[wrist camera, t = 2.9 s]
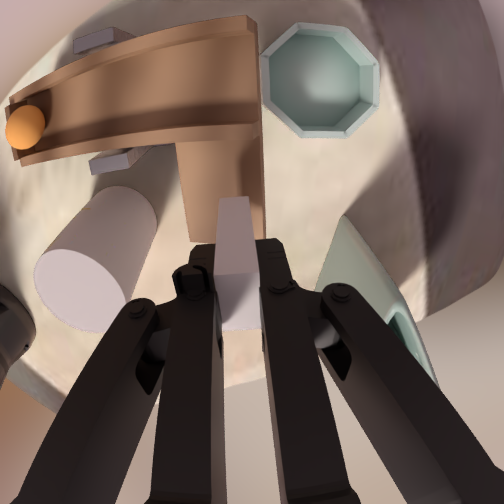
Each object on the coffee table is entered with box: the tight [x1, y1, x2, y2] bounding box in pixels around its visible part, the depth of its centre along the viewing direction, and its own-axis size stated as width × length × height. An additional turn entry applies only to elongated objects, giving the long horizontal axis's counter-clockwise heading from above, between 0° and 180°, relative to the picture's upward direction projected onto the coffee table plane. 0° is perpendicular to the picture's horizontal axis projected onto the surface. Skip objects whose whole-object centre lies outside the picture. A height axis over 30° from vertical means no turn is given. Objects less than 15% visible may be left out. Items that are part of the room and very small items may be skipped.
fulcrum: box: [73, 27, 172, 175], centre depth 18 cm, size 5×10×10 cm, turn 3°
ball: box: [5, 105, 45, 149], centre depth 15 cm, size 4×4×4 cm
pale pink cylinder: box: [34, 186, 157, 333], centre depth 24 cm, size 8×8×12 cm
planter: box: [314, 215, 440, 389], centre depth 27 cm, size 16×8×20 cm, turn 32°
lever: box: [5, 15, 266, 244], centre depth 16 cm, size 20×13×3 cm
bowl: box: [259, 22, 380, 139], centre depth 21 cm, size 10×10×4 cm
